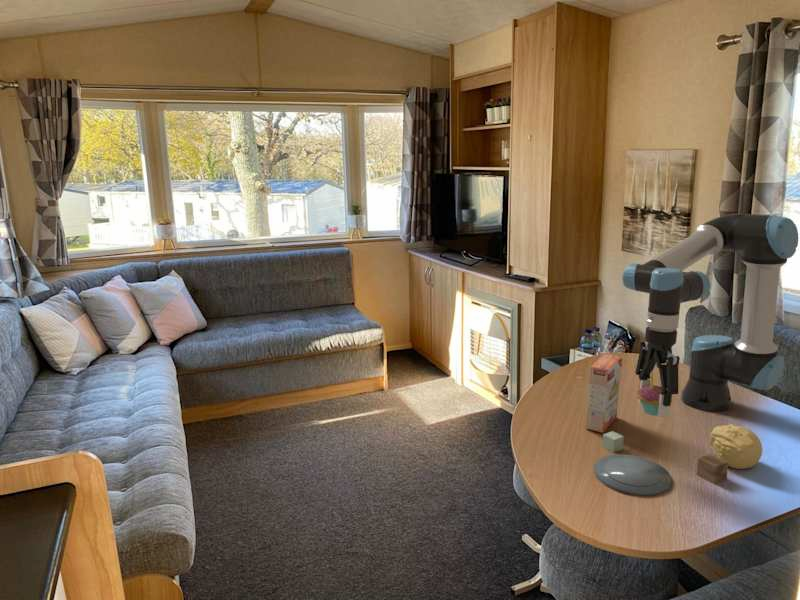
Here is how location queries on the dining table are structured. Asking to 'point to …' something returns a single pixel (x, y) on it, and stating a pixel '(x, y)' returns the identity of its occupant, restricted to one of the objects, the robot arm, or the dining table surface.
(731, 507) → the dining table surface
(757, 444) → the sculpture
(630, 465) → the plate
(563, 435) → the dining table surface
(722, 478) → the walnut block
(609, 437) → the sage block
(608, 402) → the cracker box
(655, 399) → the cupcake
